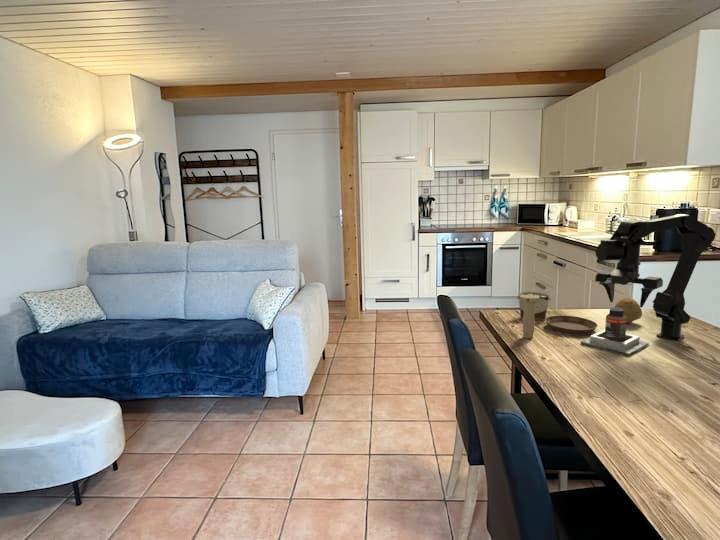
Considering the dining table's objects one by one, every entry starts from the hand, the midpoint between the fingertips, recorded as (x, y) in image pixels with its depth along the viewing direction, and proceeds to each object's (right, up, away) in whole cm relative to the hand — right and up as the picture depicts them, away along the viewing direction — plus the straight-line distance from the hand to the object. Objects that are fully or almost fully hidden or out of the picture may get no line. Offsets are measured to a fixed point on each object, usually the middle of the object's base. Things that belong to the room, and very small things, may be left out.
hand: (626, 304), depth 147 cm
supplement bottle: (-5, -13, -2) cm, 14 cm away
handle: (-30, -13, +8) cm, 34 cm away
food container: (-19, -8, +33) cm, 39 cm away
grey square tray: (-5, -13, -2) cm, 14 cm away
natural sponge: (+13, -9, +22) cm, 27 cm away
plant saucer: (-11, -11, +16) cm, 23 cm away
